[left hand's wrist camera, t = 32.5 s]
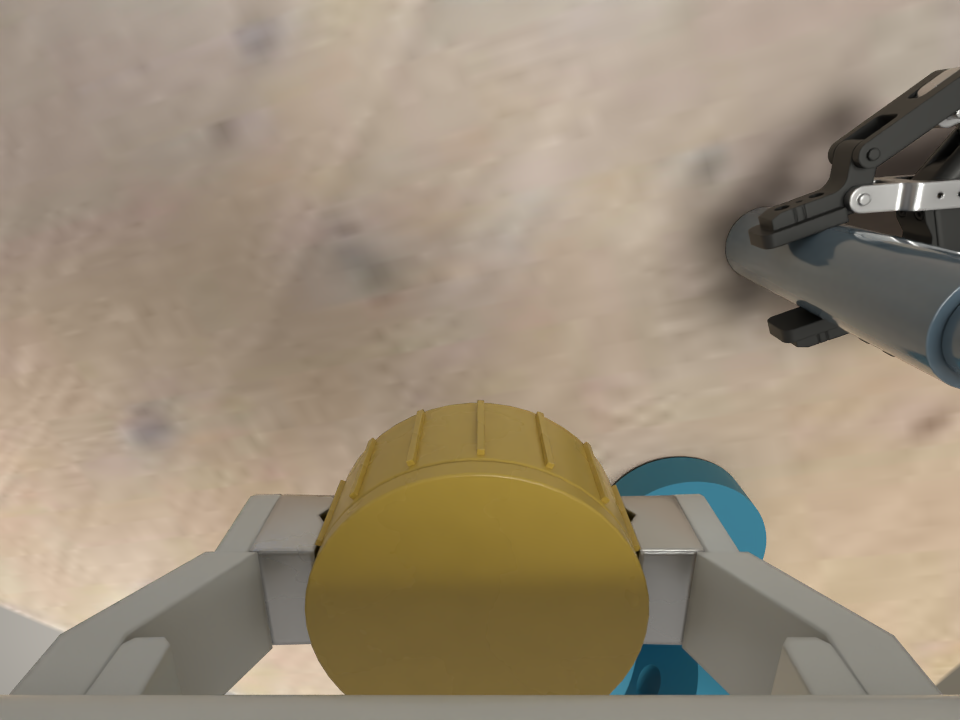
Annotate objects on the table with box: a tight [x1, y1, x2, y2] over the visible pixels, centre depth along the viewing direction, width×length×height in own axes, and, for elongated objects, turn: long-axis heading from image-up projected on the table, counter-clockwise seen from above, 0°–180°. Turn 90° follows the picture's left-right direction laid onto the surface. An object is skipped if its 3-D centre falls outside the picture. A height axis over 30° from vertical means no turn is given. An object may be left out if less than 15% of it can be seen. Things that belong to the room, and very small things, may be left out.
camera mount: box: [610, 457, 766, 695], centre depth 38 cm, size 18×10×10 cm, turn 148°
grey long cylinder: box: [726, 207, 960, 389], centre depth 26 cm, size 4×4×19 cm
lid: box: [305, 400, 649, 695], centre depth 10 cm, size 5×5×2 cm
